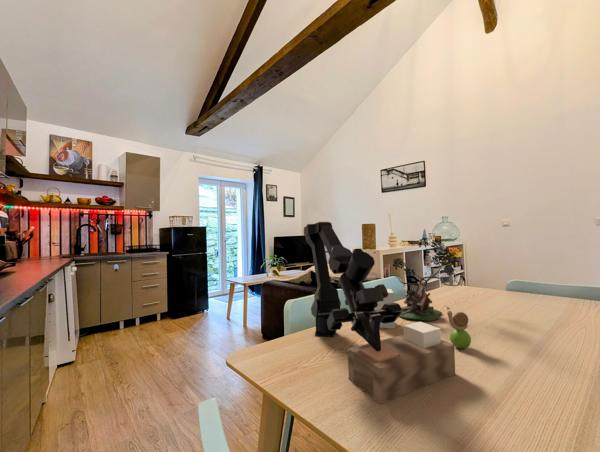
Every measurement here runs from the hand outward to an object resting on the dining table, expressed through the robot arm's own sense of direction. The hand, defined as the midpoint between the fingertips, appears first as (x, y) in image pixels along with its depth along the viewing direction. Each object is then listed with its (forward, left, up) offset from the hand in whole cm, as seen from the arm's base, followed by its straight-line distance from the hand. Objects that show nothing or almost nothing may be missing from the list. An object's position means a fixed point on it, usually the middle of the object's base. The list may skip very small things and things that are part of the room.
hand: (378, 350), depth 62 cm
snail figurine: (+24, +24, -8) cm, 35 cm away
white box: (+11, +9, -4) cm, 15 cm away
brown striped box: (+6, +5, -8) cm, 10 cm away
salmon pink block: (0, 0, -7) cm, 7 cm away
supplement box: (+4, +41, -8) cm, 42 cm away
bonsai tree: (+24, +56, -8) cm, 61 cm away
